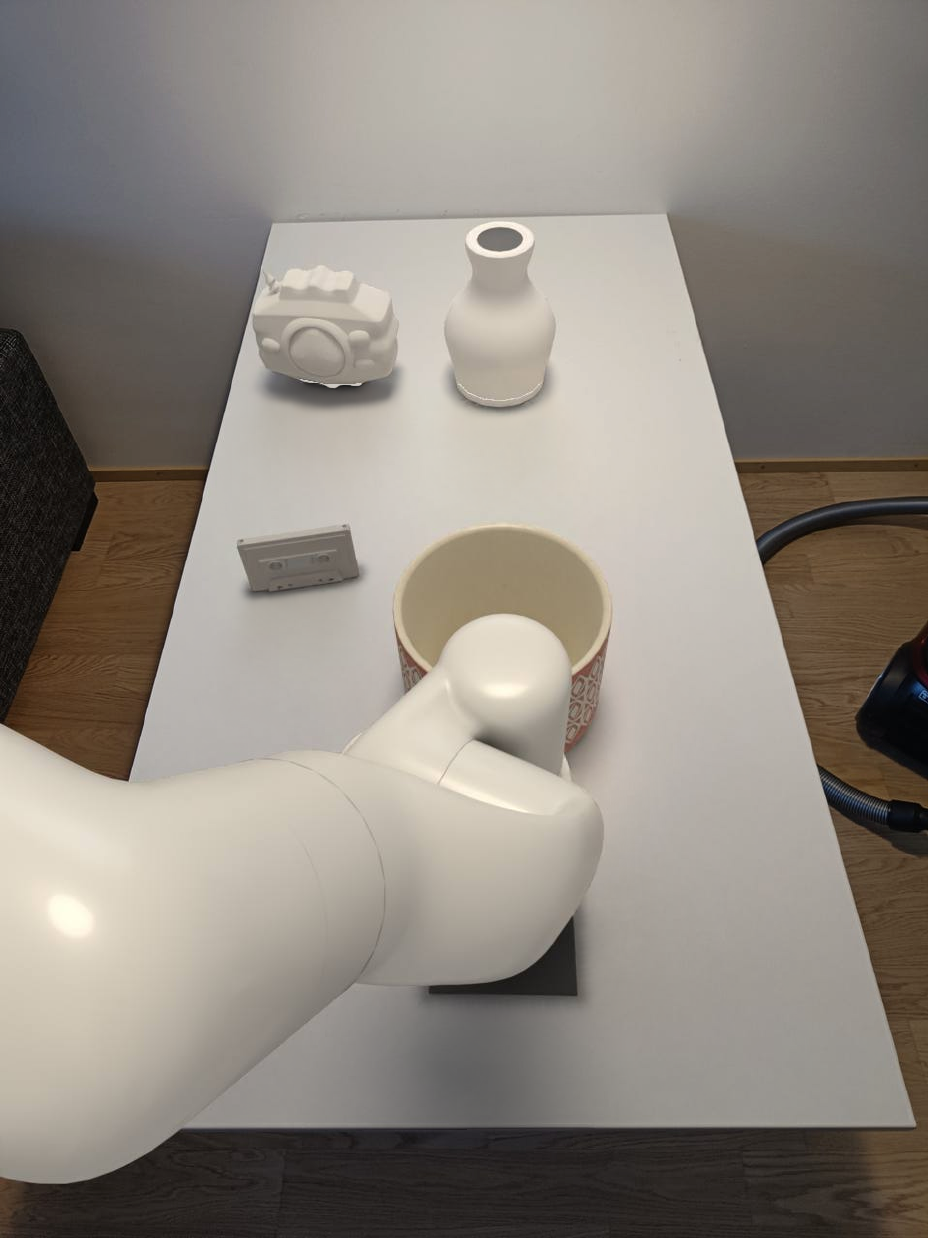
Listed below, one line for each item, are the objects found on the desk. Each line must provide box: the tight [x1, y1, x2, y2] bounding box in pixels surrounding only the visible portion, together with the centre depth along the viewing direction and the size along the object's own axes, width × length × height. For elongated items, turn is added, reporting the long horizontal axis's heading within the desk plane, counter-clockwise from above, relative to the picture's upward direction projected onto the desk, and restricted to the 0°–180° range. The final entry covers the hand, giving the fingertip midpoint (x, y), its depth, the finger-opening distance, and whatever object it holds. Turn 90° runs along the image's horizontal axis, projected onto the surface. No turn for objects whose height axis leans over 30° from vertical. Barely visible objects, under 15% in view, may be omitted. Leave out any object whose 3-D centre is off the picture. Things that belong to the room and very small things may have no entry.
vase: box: [443, 220, 557, 408], centre depth 111 cm, size 14×14×20 cm
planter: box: [392, 522, 613, 753], centre depth 83 cm, size 19×19×15 cm
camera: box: [252, 265, 400, 384], centre depth 113 cm, size 11×18×16 cm, turn 82°
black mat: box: [428, 915, 578, 996], centre depth 76 cm, size 16×12×1 cm
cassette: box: [236, 523, 360, 592], centre depth 95 cm, size 12×2×8 cm, turn 100°
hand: (503, 869), depth 71 cm, fingers closed on bar, 4 cm apart
